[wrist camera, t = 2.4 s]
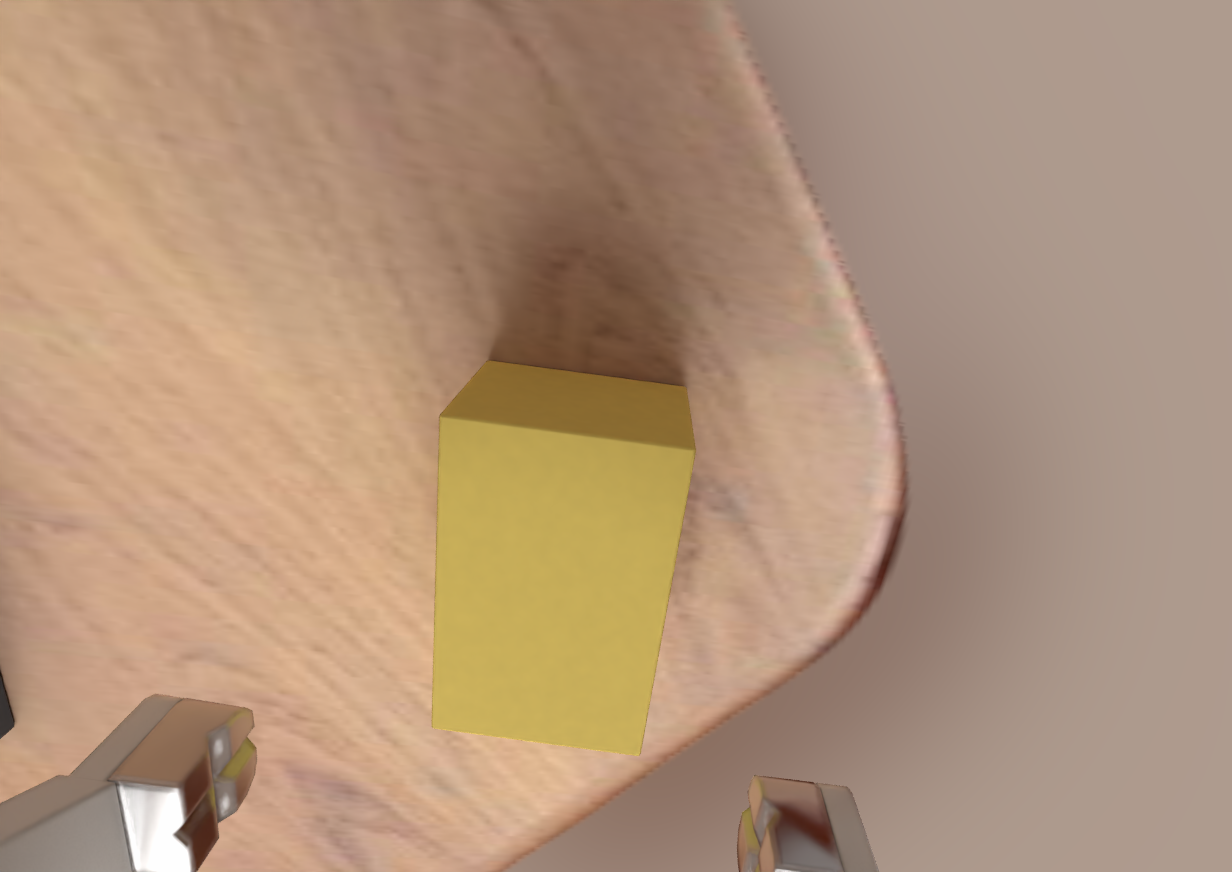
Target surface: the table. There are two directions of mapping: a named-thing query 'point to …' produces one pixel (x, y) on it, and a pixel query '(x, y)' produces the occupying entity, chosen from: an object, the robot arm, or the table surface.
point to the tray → (4, 712)
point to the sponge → (556, 553)
